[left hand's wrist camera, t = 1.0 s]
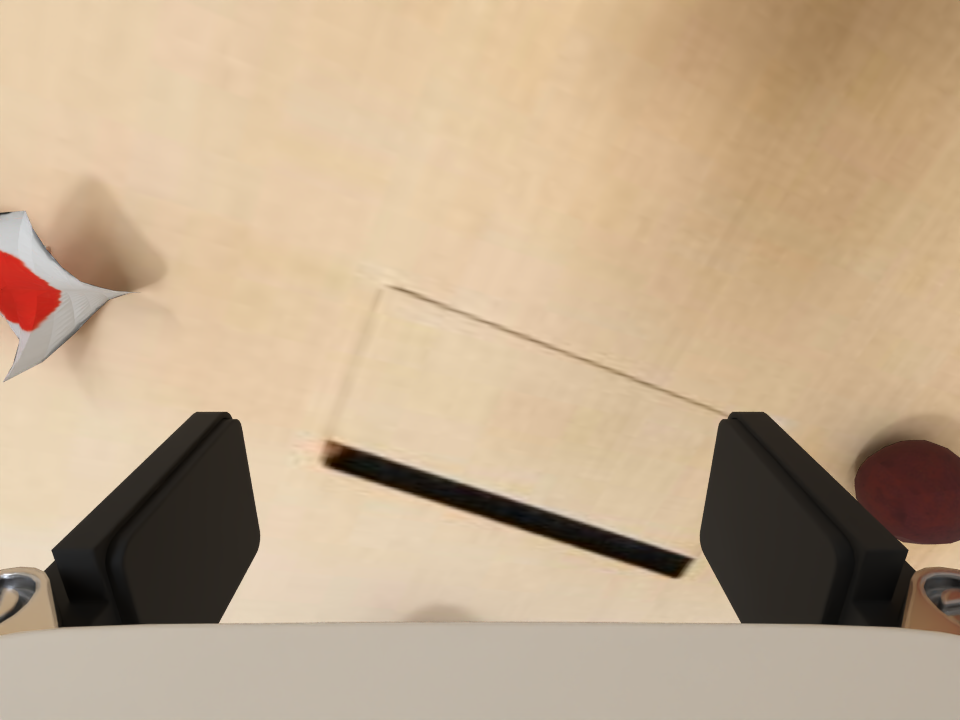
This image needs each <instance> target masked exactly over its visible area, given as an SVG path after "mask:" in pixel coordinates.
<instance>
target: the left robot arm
mask: <svg viewBox="0 0 960 720" xmlns="http://www.w3.org/2000/svg"><path fill="white" fill-rule="evenodd" d="M259 543H260V530H259V524H258V518H257V512H256V507H255V501H254V495H253V489H252V483H251V478H250V472H249V466H248V460H247V455H246V449H245V443H244V437H243V431H242V426H241V423H240V421H239V420H237V419H232V417H231V415H230V414H229V413H228V412H196V413H194V414H193V415H192V416H191V417H190V418H189V419H188V420H187V421H185V422H184V423H183V424H182V425H181V426H180V427H179V428H178V429H177V430H176V431H175V432H174V433H173V434H172V435H171V436H170V437H169V438H168V439H167V440H166V441H165V442H164V443H163V444H162V445H160V446H159V447H158V448H157V449H156V450H155V451H154V452H153V453H152V454H151V455H150V456H149V457H148V458H147V459H146V460H145V461H144V462H143V463H142V464H141V465H140V466H139V467H138V468H137V469H135V470H134V471H133V472H132V473H131V474H130V475H129V476H128V477H127V478H126V479H125V480H124V481H123V482H122V483H121V484H120V485H119V486H118V487H117V488H116V489H115V490H114V491H113V492H112V493H110V494H109V495H108V496H107V497H106V498H105V499H104V500H103V501H102V502H101V503H100V504H99V505H98V506H97V507H96V508H95V509H94V510H93V511H92V512H91V513H90V514H89V515H88V516H87V517H85V518H84V519H83V520H82V521H81V522H80V523H79V524H78V525H77V526H76V527H75V528H74V529H73V530H72V531H71V532H70V533H69V534H68V535H67V536H66V537H65V538H64V539H63V540H62V541H60V542H59V543H58V544H57V545H56V546H55V547H54V548H53V549H52V553H53V556H54V559H55V561H54V562H53V563H52V564H51V565H50V566H49V567H48V568H47V569H46V570H45V571H41V570H39V569H37V568H31V567H16V568H9V569H2V570H0V720H960V570H958V569H951V568H944V567H929V568H923V569H921V570H919V571H915V570H914V569H913V568H912V567H911V566H910V565H909V564H908V563H907V562H906V561H905V559H906V556H907V553H908V549H907V548H906V547H905V546H904V545H903V544H902V543H901V542H900V541H898V540H897V539H896V538H895V537H894V536H893V535H892V534H891V533H890V532H889V531H888V530H887V529H886V528H885V527H884V526H883V525H882V524H881V523H880V522H879V521H878V520H877V519H876V518H875V517H873V516H872V515H871V514H870V513H869V512H868V511H867V510H866V509H865V508H864V507H863V506H862V505H861V504H860V503H859V502H858V501H857V500H856V499H855V498H854V497H853V496H852V495H851V494H850V493H848V492H847V491H846V490H845V489H844V488H843V487H842V486H841V485H840V484H839V483H838V482H837V481H836V480H835V479H834V478H833V477H832V476H831V475H830V474H829V473H828V472H827V471H826V470H825V469H823V468H822V467H821V466H820V465H819V464H818V463H817V462H816V461H815V460H814V459H813V458H812V457H811V456H810V455H809V454H808V453H807V452H806V451H805V450H804V449H803V448H802V447H801V446H800V445H798V444H797V443H796V442H795V441H794V440H793V439H792V438H791V437H790V436H789V435H788V434H787V433H786V432H785V431H784V430H783V429H782V428H781V427H780V426H779V425H778V424H777V423H776V422H775V421H773V420H772V419H771V418H770V417H769V416H768V415H767V414H766V413H764V412H732V413H731V414H730V415H729V417H728V419H723V420H721V421H720V423H719V426H718V431H717V437H716V443H715V449H714V455H713V460H712V466H711V472H710V478H709V483H708V489H707V495H706V501H705V507H704V512H703V518H702V524H701V530H700V543H701V548H702V551H703V553H704V555H705V557H706V559H707V561H708V562H709V564H710V566H711V568H712V570H713V572H714V573H715V575H716V577H717V579H718V581H719V583H720V585H721V586H722V588H723V590H724V592H725V594H726V596H727V598H728V599H729V601H730V603H731V605H732V607H733V609H734V611H735V612H736V614H737V616H738V618H739V620H740V622H741V624H736V623H616V622H331V623H224V624H219V622H220V620H221V618H222V616H223V614H224V612H225V611H226V609H227V607H228V605H229V603H230V601H231V599H232V598H233V596H234V594H235V592H236V590H237V588H238V586H239V585H240V583H241V581H242V579H243V577H244V575H245V573H246V572H247V570H248V568H249V566H250V564H251V562H252V561H253V559H254V557H255V555H256V553H257V551H258V548H259Z"/></svg>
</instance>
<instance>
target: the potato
mask: <svg viewBox="0 0 960 720" xmlns="http://www.w3.org/2000/svg"><path fill="white" fill-rule="evenodd" d="M855 492H856V498H857V501H858V502H859V503H860V504H861V505H862V506H863V507H864V508H865V509H866V510H867V511H868V512H869V513H870V514H871V515H872V516H873V517H875V518H876V519H877V520H878V521H879V522H880V523H881V524H882V525H883V526H884V527H885V528H886V529H887V530H888V531H889V532H890V533H891V534H892V535H893V536H894V537H895V538H896V539H898V540H900V541H902V542H906V543H915V544H947V543H953V542H956V541H959V540H960V458H959V457H958V456H957V455H956V454H954V453H953V452H952V451H950V450H949V449H948V448H945V447H943V446H940V445H937V444H935V443H932V442H929V441H926V440H908V441H900V442H897V443H895V444H892V445H889V446H887V447H884V448H882V449H881V450H879V451H878V452H876V453H874V454H873V455H871V456H870V457H868V458H867V459H866V460H865V462H864V463H863V464H862V465H861V467H860V468H859V470H858V472H857V475H856V477H855Z"/></svg>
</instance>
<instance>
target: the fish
mask: <svg viewBox="0 0 960 720" xmlns="http://www.w3.org/2000/svg"><path fill="white" fill-rule="evenodd" d="M128 293H141V292H122V291H113V290H109V289H105V288H101V287H97V286H94V285H90V284H87V283H84V282H80V281H79V280H78V279H77V278H75V277H74V276H73V275H71V274H70V273H69V272H67V271H66V270H65V269H63V268H62V267H61V265H60V264H59V263H58V262H57V261H56V260H55V259H54V257H53V256H52V255H51V254H50V253H49V252H48V251H47V250H46V246H44V245H43V244H42V242H41V240H40V239H39V237H38V236H37V234H36V233H35V231H34V230H33V228H32V226H31V223H30V221H29V218H28V216H27V214H26V211H18V212H5V213H0V315H2V316H3V317H4V318H5V319H6V320H7V322H8V324H9V325H10V327H11V329H12V330H13V331H14V333H15V334H16V336H17V337H18V338H19V345H18V349H17V352H16V356H15V359H14V363H13V366H12V367H11V369H10V371H9V373H8V374H7V376H6V378H5V379H4V381H3V382H5V381H7V380H8V379H10V378H12V377H14V376H16V375H18V374H20V373H22V372H24V371H26V370H28V369H30V368H32V367H34V366H36V365H37V364H39V363H41V362H43V361H44V360H45V359H47V358H48V357H49V356H50V355H51V354H52V353H53V352H54V351H56V350H57V349H58V348H59V347H60V346H61V345H62V344H63V343H65V342H66V341H67V340H68V339H69V338H70V337H71V336H72V335H74V334H75V333H76V332H77V331H78V329H79V328H80V327H81V326H82V325H83V324H84V323H85V322H86V321H87V320H88V319H89V318H90V317H91V316H92V315H93V314H94V313H95V312H96V311H97V310H98V309H99V308H100V307H102V306H103V305H104V304H105V303H106V302H107V301H108V300H109V299H112V298H115V297H118V296H122V295H125V294H128Z"/></svg>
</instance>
